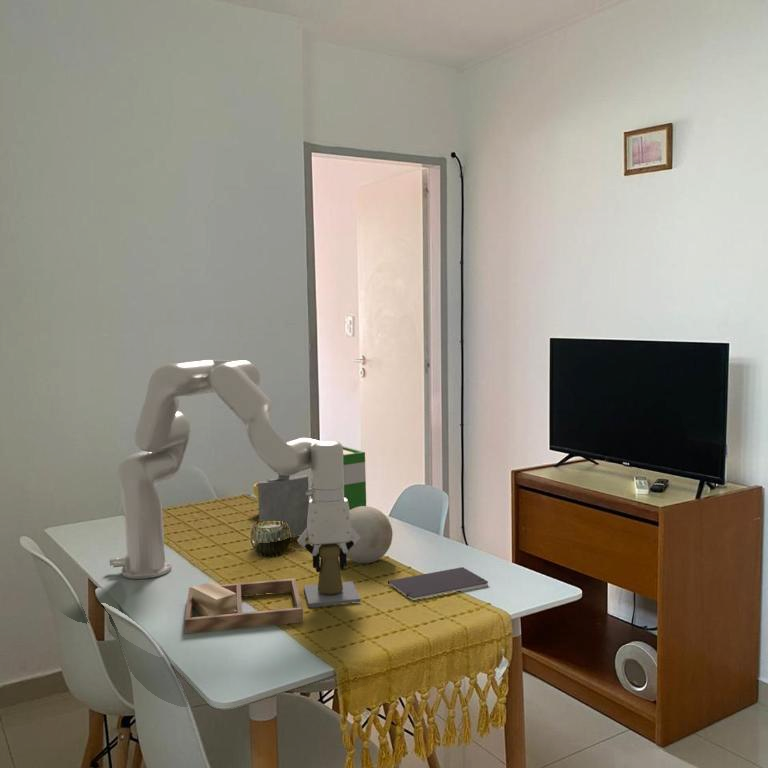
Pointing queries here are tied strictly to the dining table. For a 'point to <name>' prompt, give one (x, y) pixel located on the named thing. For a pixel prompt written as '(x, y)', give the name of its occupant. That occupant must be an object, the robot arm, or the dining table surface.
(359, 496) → the hardback book
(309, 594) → the rubber mat
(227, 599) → the top offcut
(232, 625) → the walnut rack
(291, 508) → the hip flask
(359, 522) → the decorative sphere
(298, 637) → the dining table surface
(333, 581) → the cork
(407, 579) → the notebook
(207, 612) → the block
